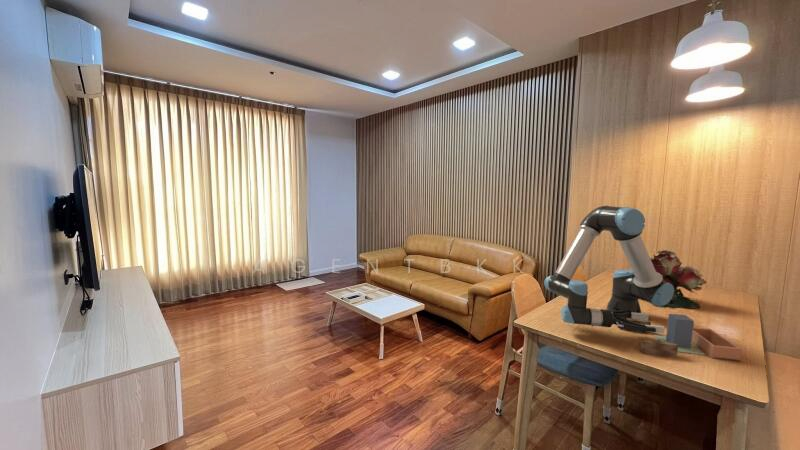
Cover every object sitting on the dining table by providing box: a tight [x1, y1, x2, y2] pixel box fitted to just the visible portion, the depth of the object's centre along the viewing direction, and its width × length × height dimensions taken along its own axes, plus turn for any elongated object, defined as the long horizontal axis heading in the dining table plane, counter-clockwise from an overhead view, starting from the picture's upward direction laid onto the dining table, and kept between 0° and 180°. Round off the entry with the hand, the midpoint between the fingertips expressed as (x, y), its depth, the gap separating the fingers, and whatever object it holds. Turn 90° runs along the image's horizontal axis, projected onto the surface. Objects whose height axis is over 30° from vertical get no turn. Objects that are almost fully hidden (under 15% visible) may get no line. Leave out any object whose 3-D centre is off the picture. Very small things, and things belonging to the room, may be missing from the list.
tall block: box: [665, 313, 695, 349], centre depth 137 cm, size 6×6×12 cm
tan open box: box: [691, 327, 742, 362], centre depth 135 cm, size 9×18×5 cm, turn 165°
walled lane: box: [618, 318, 679, 358], centre depth 141 cm, size 12×24×5 cm, turn 165°
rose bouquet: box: [650, 249, 707, 309], centre depth 190 cm, size 26×29×30 cm
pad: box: [653, 334, 707, 356], centre depth 138 cm, size 12×14×1 cm
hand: (655, 323), depth 139 cm, fingers open, 13 cm apart
